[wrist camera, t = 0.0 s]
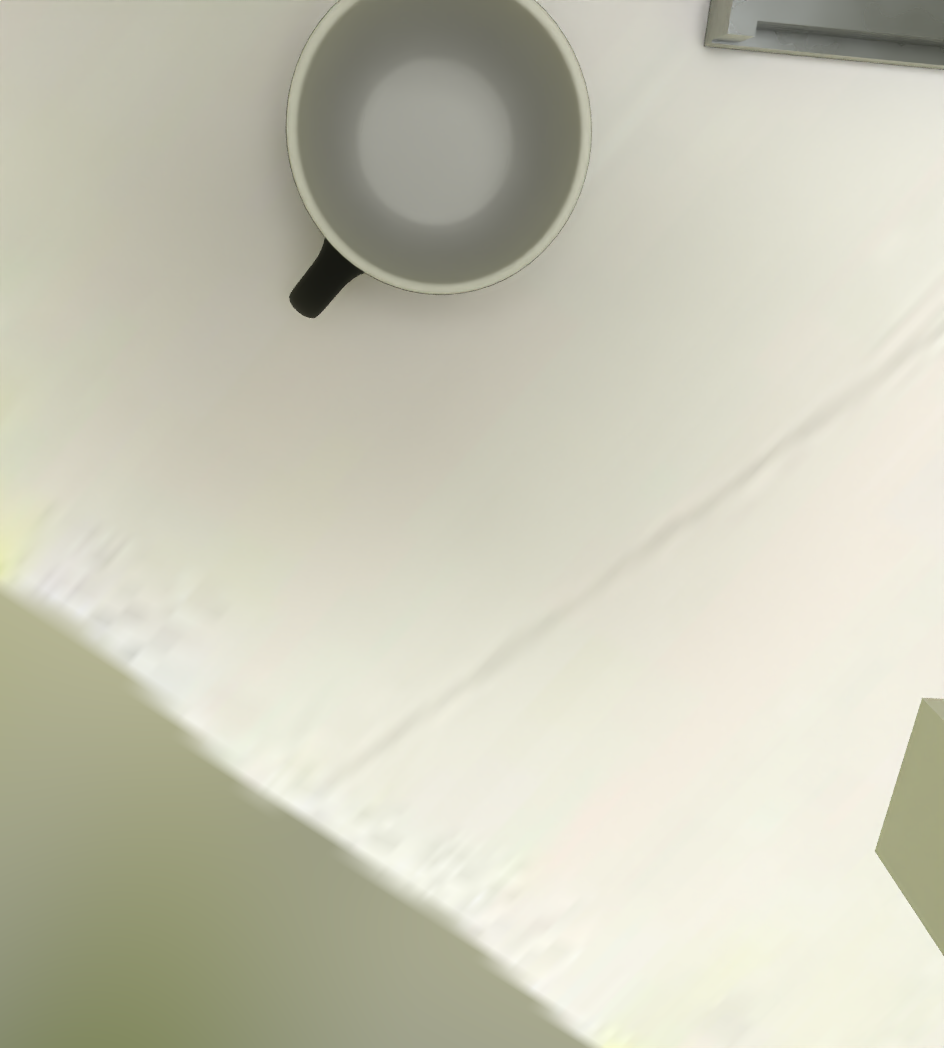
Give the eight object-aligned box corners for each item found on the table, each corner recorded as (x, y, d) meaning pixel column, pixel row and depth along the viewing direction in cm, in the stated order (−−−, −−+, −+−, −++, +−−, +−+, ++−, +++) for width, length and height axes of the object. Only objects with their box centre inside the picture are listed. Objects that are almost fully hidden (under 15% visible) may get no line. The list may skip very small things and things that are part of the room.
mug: (423, -43, 33) (425, -124, 24) (595, 135, 36) (657, 127, 26) (226, 214, 36) (158, 232, 27) (398, 362, 39) (390, 426, 29)
